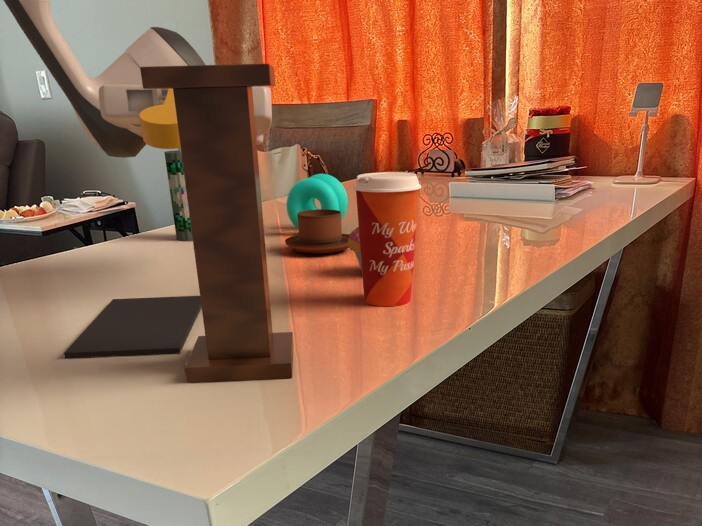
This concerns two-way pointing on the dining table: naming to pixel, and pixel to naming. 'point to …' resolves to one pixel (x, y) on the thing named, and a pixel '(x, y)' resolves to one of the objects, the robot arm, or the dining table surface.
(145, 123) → the scoop
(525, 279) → the dining table surface
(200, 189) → the stand
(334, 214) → the cup and saucer
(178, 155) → the can
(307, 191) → the donuts
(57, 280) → the dining table surface
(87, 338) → the mat
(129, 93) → the robot arm
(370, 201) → the coffee cup
